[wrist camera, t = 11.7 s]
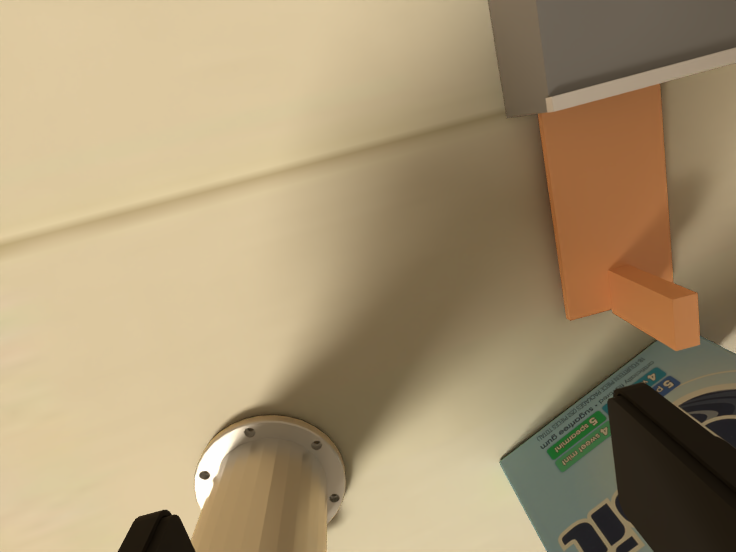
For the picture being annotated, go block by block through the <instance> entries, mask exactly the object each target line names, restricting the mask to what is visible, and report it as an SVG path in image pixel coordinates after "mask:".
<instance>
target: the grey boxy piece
mask: <svg viewBox="0 0 736 552" xmlns="http://www.w3.org/2000/svg"><path fill="white" fill-rule="evenodd" d="M488 4H489V10H490V16H491V22H492V29H493V35H494V41H495V47H496V54H497V60H498V66H499V73H500V79H501V85H502V91H503V98H504V104H505V110H506V116H507V118H512V117H519V116H526V115H533V114H539V113H546V112H547V113H549V112H555V111H559V110H563V109H566V108H570V107H574V106H578V105H581V104H585V103H589V102H592V101H596V100H600V99H604V98H607V97H611V96H615V95H619V94H622V93H626V92H630V91H634V90H637V89H641V88H645V87H648V86H652V85H656V84H660V83H663V82H667V81H671V80H675V79H678V78H682V77H686V76H690V75H693V74H697V73H701V72H705V71H708V70H712V69H716V68H719V67H723V66H727V65H731V64H734V63H736V0H488Z"/></svg>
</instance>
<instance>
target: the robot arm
mask: <svg viewBox="0 0 736 552" xmlns="http://www.w3.org/2000/svg"><path fill="white" fill-rule="evenodd" d="M607 407H608V415H609V424H610V432H611V440H612V449H613V457H614V465H615V474H616V482H617V490H618V498H619V502H620V505H621V508H622V510H623V512H624V514H625V515H626V517H627V518H628V520H629V521H630V522H631V524H632V525H633V526H634V527H635V529H636V530H637V531H638V532H639V534H640V535H641V536H642V538H643V539H644V540H645V541H646V543H647V544H648V545H649V546H650V548H651V549H652V550H653V552H736V448H734V447H733V446H732V445H730V444H729V443H728V442H726V441H725V440H723V439H721V438H720V437H717V436H714V435H713V434H712V433H710V432H709V431H708V430H706V429H705V428H704V427H702V426H701V425H700V424H699V423H697V422H696V421H695V420H693V419H692V418H691V417H689V416H688V415H687V414H685V413H684V412H683V411H682V410H680V409H679V408H678V407H676V406H675V405H674V404H672V403H671V402H670V401H668V400H667V399H666V398H665V397H663V396H662V395H661V394H659V393H658V392H657V391H655V390H654V389H653V388H651V387H650V386H649V385H647V384H646V383H642V382H640V383H636V384H633V385H629V386H625V387H621V388H618V389H615V390H614V393H613V397H612V398H609V399H608V401H607ZM345 486H346V476H345V466H344V463H343V460H342V457H341V454H340V453H339V451H338V449H337V447H336V446H335V444H334V443H333V442H332V441H331V440H330V439H329V438H328V436H327V435H326V434H324V433H323V432H322V431H320V430H319V429H317V428H316V427H315V426H313V425H310V424H308V423H306V422H304V421H302V420H299V419H295V418H292V417H288V416H279V415H264V416H256V417H252V418H247V419H244V420H241V421H239V422H236V423H234V424H232V425H230V426H229V427H227V428H225V429H224V430H222V431H221V432H219V433H218V434H217V435H216V436H215V437H214V438H213V439H212V440H211V441H210V442H209V444H208V445H207V447H206V448H205V450H204V451H203V453H202V456H201V458H200V460H199V462H198V465H197V468H196V471H195V476H194V490H195V495H196V500H197V502H198V505H199V507H200V509H201V513H200V516H199V519H198V522H197V524H196V527H195V530H194V533H193V536H192V538H191V541H190V539H189V536H188V534H187V532H186V530H185V528H184V526H183V524H182V521H181V519H180V518H179V516H177V515H171V513H170V512H169V511H168V510H162V511H158V512H154V513H150V514H147V515H143V516H139V517H138V518H136V519H135V521H134V522H133V524H132V526H131V528H130V530H129V531H128V533H127V535H126V537H125V539H124V541H123V543H122V545H121V547H120V549H119V550H118V552H326V551H327V524H328V523H329V522H330V521H331V520H332V518H333V517H334V516H335V515H336V513H337V512H338V510H339V508H340V506H341V504H342V502H343V498H344V494H345Z"/></svg>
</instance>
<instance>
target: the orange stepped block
mask: <svg viewBox="0 0 736 552" xmlns="http://www.w3.org/2000/svg"><path fill="white" fill-rule="evenodd" d="M538 120H539V127H540V134H541V141H542V148H543V155H544V162H545V169H546V177H547V184H548V191H549V198H550V205H551V212H552V219H553V226H554V233H555V240H556V248H557V255H558V262H559V269H560V276H561V283H562V290H563V297H564V304H565V311H566V318H567V319H569V320H570V321H571V320H574V319H578V318H582V317H586V316H589V315H593V314H597V313H600V312H604V311H608V310H612V312H613V313H614V314H615V315H617V316H619V317H620V318H622V319H624V320H625V321H627V322H629V323H630V324H632V325H633V326H635V327H637V328H638V329H640V330H642V331H643V332H645V333H647V334H648V335H650V336H652V337H653V338H655V339H657V340H658V341H660V342H662V343H663V344H665V345H667V346H668V347H670V348H671V349H673V350H675V351H679V350H683V349H686V348H690V347H694V346H697V345H700V330H699V311H698V293H696V292H694V291H691V290H689V289H686V288H684V287H682V286H679V285H677V284H674V283H673V269H672V254H671V239H670V224H669V209H668V194H667V179H666V164H665V149H664V134H663V119H662V104H661V89H660V84H656V85H652V86H648V87H645V88H641V89H637V90H634V91H630V92H626V93H622V94H619V95H615V96H611V97H607V98H604V99H600V100H596V101H592V102H589V103H585V104H581V105H578V106H574V107H570V108H566V109H563V110H559V111H555V112H549V113H547V112H546V113H539V114H538Z"/></svg>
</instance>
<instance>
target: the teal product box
mask: <svg viewBox="0 0 736 552" xmlns="http://www.w3.org/2000/svg"><path fill="white" fill-rule="evenodd" d="M640 382H642V383H646V384H647V385H649V386H650V387H651V388H653V389H654V390H655V391H657V392H658V393H659V394H661V395H662V396H663V397H665V398H666V399H667V400H668V401H670V402H671V403H672V404H674V405H675V406H676V407H678V408H679V409H680V410H682V411H683V412H684V413H685V414H687V415H688V416H689V417H691V418H692V419H693V420H695V421H696V422H697V423H699V424H700V425H701V426H702V427H704V428H705V429H706V430H708V431H709V432H710V433H712V434H713V435H714V436H717V437H720V438H721V439H723V440H725V441H726V442H728V443H729V444H730V445H732V446H733V447H734V448H736V354H735V353H733V352H731V351H729V350H727V349H725V348H723V347H721V346H719V345H717V344H715V343H713V342H711V341H709V340H707V339H705V338H703V337H702V336H700V345H697V346H694V347H690V348H686V349H683V350H679V351H675V350H673V349H671V348H670V347H668V346H667V345H665V344H663V343H662V342H660V341H658V340H657V341H655V342H654V343H653V344H652V345H650V346H649V347H648V348H646V349H645V350H644V351H642V352H641V353H640V354H639V355H637V356H636V357H635V358H634V359H632V360H631V361H630V362H628V363H627V364H626V365H624V366H623V367H622V368H620V369H619V370H618V371H617V372H615V373H614V374H613V375H611V376H610V377H609V378H607V379H606V380H605V381H603V382H602V383H601V384H600V385H598V386H597V387H596V388H595V389H593V390H592V391H591V392H589V393H588V394H587V395H585V396H584V397H583V398H581V399H580V400H579V401H578V402H576V403H575V404H574V405H572V406H571V407H570V408H569V409H567V410H566V411H565V412H563V413H562V414H561V415H559V416H558V417H557V418H555V419H554V420H553V421H552V422H550V423H549V424H548V425H546V426H545V427H544V428H543V429H541V430H540V431H539V432H538V433H536V434H535V435H534V436H532V437H531V438H530V439H528V440H527V441H526V442H525V443H523V444H522V445H521V446H519V447H518V448H517V449H515V450H514V451H513V452H511V453H510V454H509V455H508V456H506V457H505V458H503V459H502V460H501V461H500V462H499V463H500V465H501V467H502V469H503V471H504V473H505V475H506V477H507V478H508V480H509V482H510V484H511V486H512V488H513V490H514V491H515V493H516V495H517V497H518V499H519V501H520V503H521V505H522V506H523V508H524V510H525V512H526V514H527V516H528V517H529V519H530V521H531V523H532V525H533V527H534V529H535V530H536V532H537V534H538V536H539V538H540V540H541V542H542V543H543V545H544V547H545V549H546V551H547V552H653V550H652V549H651V548H650V546H649V545H648V544H647V543H646V541H645V540H644V539H643V538H642V536H641V535H640V534H639V532H638V531H637V530H636V529H635V527H634V526H633V525H632V524H631V522H630V521H629V520H628V518H627V517H626V515H625V514H624V512H623V510H622V508H621V505H620V502H619V498H618V490H617V482H616V474H615V465H614V457H613V449H612V440H611V432H610V424H609V415H608V407H607V401H608V399H609V398H612V397H613V393H614V390H615V389H618V388H621V387H625V386H629V385H633V384H636V383H640Z"/></svg>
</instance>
